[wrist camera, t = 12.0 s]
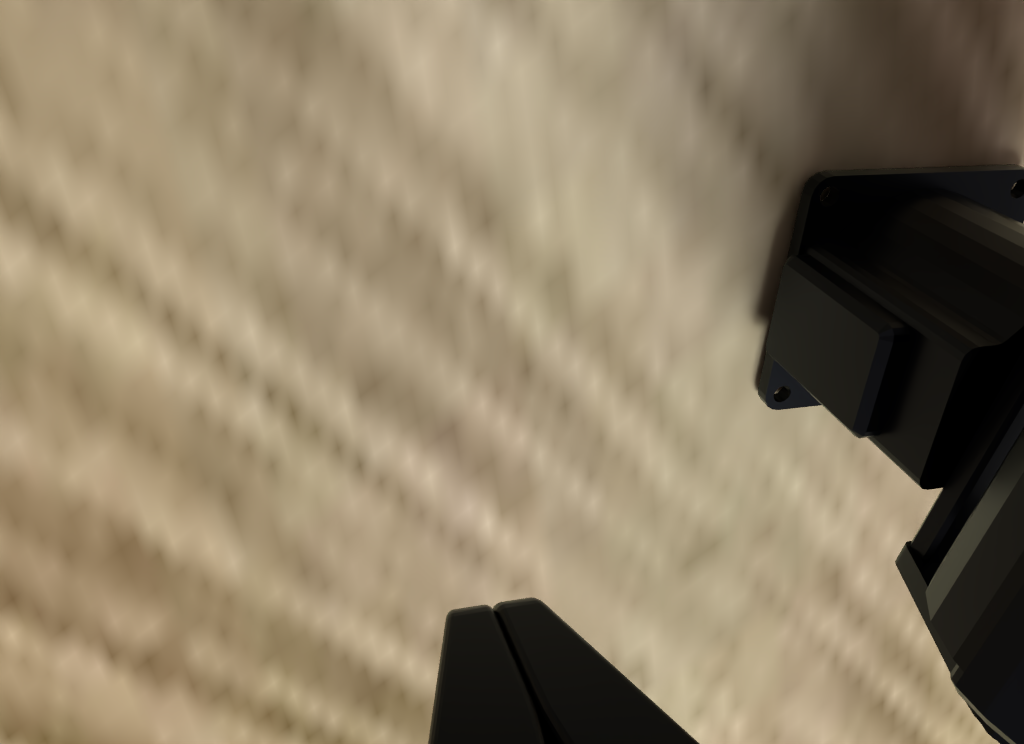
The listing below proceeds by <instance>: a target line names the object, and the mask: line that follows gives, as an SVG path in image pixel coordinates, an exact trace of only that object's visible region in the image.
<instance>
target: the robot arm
mask: <svg viewBox="0 0 1024 744" xmlns="http://www.w3.org/2000/svg"><path fill="white" fill-rule="evenodd" d="M1014 183H1016V185H1015V187H1014V188H1013V189H1012V190H1011V188H1012V186H1013V185H1014ZM827 187H830V192H829V194H828V196H827V197H826V198H825V199H824V200H821V201H820V196H821V194H822V192H823V191H824V190H825V189H826V188H827ZM1023 222H1024V167H1022V166H1018V165H988V166H958V167H927V168H897V169H866V170H836V171H823V172H818V173H817V174H815V175H814V176H812V177H811V178H810V179H809V180H808V181H807V183H806V184H805V186H804V189H803V191H802V195H801V199H800V204H799V208H798V213H797V217H796V222H795V226H794V231H793V235H792V240H791V244H790V249H789V253H788V258H787V261H786V263H785V264H784V266H783V271H782V275H781V280H780V284H779V289H778V293H777V298H776V302H775V307H774V311H773V316H772V320H771V325H770V329H769V334H768V338H767V343H766V351H767V352H766V356H765V360H764V365H763V369H762V374H761V378H760V383H759V387H758V395H759V397H760V399H761V400H762V401H763V402H764V403H765V404H766V405H767V406H768V407H770V408H771V409H775V410H781V409H790V408H799V407H808V406H818V405H823V406H824V407H825V408H826V409H827V410H828V411H829V412H830V413H831V414H832V415H833V416H834V417H835V418H836V419H837V420H838V421H839V422H841V423H842V424H843V425H844V426H845V427H846V428H847V429H848V430H849V431H850V432H851V433H852V434H853V435H854V436H856V437H858V438H865V437H867V438H868V439H869V440H870V441H871V442H873V443H874V444H875V445H876V446H877V447H878V448H879V449H880V450H881V451H882V452H883V453H884V454H885V455H886V456H888V457H889V458H890V459H891V460H892V461H893V462H894V463H895V464H896V465H897V466H898V467H899V468H900V469H902V470H903V471H904V472H905V473H906V474H907V475H908V476H909V477H910V478H911V479H912V480H913V481H914V482H915V483H917V484H918V485H919V486H920V487H921V488H922V489H927V490H929V489H936V488H943V489H942V491H941V492H940V494H939V496H938V497H937V499H936V501H935V503H934V504H933V506H932V508H931V510H930V511H929V513H928V515H927V516H926V518H925V520H924V522H923V523H922V525H921V527H920V528H919V530H918V532H917V534H916V535H915V537H914V539H913V541H909V542H906V544H905V545H904V547H903V549H902V551H901V552H900V554H899V556H898V557H897V559H896V561H895V563H896V566H897V568H898V570H899V572H900V574H901V576H902V578H903V580H904V582H905V584H906V585H907V587H908V589H909V591H910V593H911V595H912V597H913V599H914V601H915V603H916V605H917V607H918V609H919V611H920V613H921V615H922V617H923V619H924V621H925V623H926V625H927V627H928V629H929V631H930V633H931V635H932V637H933V639H934V641H935V643H936V645H937V647H938V649H939V651H940V653H941V655H942V657H943V659H944V661H945V663H946V665H947V667H948V669H949V671H950V675H951V680H952V682H953V684H954V686H955V688H956V690H957V692H958V694H959V695H960V696H961V697H962V698H963V699H964V700H965V702H966V703H967V705H968V706H969V708H970V710H971V711H972V713H973V714H974V716H975V717H976V718H977V719H978V720H979V722H980V723H981V724H982V726H983V727H984V729H985V730H986V732H987V733H988V734H989V735H990V736H991V737H992V738H994V739H995V740H997V741H998V742H999V743H1000V744H1024V224H1023ZM782 386H783V387H782ZM779 387H782V389H781V390H780V391H779V392H778V393H776V394H774V393H775V391H776V390H777V389H778V388H779ZM428 744H699V743H698V742H697V741H696V740H695V739H694V738H693V737H691V736H690V735H689V734H688V733H687V732H686V731H685V730H684V729H683V728H681V727H680V726H679V725H678V724H677V723H676V722H675V721H674V720H673V719H672V718H670V717H669V716H668V715H667V714H666V713H665V712H664V711H663V710H662V709H660V708H659V707H658V706H657V705H656V704H655V703H654V702H653V701H652V700H651V699H649V698H648V697H647V696H646V695H645V694H644V693H643V692H642V691H641V690H639V689H638V688H637V687H636V686H635V685H634V684H633V683H632V682H631V681H630V680H628V679H627V678H626V677H625V676H624V675H623V674H622V673H621V672H620V671H618V670H617V669H616V668H615V667H614V666H613V665H612V664H611V663H610V662H609V661H607V660H606V659H605V658H604V657H603V656H602V655H601V654H600V653H599V652H597V651H596V650H595V649H594V648H593V647H592V646H591V645H590V644H589V643H588V642H586V641H585V640H584V639H583V638H582V637H581V636H580V635H579V634H578V633H576V632H575V631H574V630H573V629H572V628H571V627H570V626H569V625H568V624H567V623H565V622H564V621H563V620H562V619H561V618H560V617H559V616H558V615H557V614H555V613H554V612H553V611H552V610H551V609H550V608H549V607H548V606H547V605H546V604H544V603H543V602H542V601H541V600H539V599H536V598H525V599H518V600H512V601H505V602H500V603H498V604H496V605H495V606H494V607H493V609H492V608H491V607H490V606H488V605H480V606H473V607H467V608H461V609H454V610H451V611H450V612H449V613H448V614H447V617H446V622H445V629H444V636H443V643H442V650H441V657H440V664H439V671H438V678H437V685H436V692H435V699H434V706H433V713H432V720H431V727H430V734H429V741H428Z"/></svg>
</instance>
